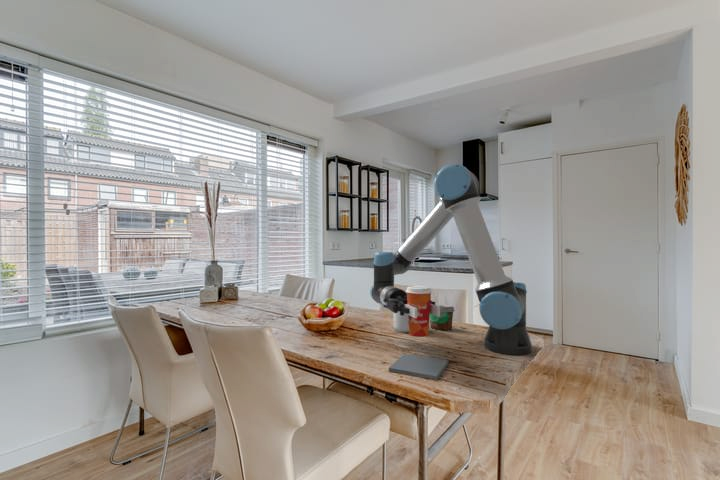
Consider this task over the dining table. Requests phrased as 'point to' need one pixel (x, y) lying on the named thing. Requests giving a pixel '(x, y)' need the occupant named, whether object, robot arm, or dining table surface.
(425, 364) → the pad
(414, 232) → the robot arm
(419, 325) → the paper cup
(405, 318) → the mug
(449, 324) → the food container
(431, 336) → the dining table surface
